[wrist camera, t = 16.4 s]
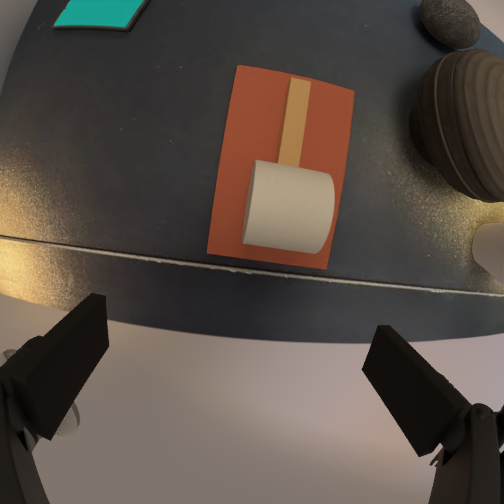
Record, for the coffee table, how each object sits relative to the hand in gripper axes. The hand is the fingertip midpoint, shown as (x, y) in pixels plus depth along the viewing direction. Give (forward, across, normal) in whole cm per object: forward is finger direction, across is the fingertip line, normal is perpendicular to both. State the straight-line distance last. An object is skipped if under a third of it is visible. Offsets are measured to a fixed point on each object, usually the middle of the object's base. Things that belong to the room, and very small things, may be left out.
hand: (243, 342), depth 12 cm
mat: (+20, +4, +10) cm, 23 cm away
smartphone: (+21, -24, +31) cm, 45 cm away
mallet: (+20, +4, +10) cm, 23 cm away
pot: (+20, +25, +20) cm, 38 cm away
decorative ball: (+20, +25, +39) cm, 51 cm away
